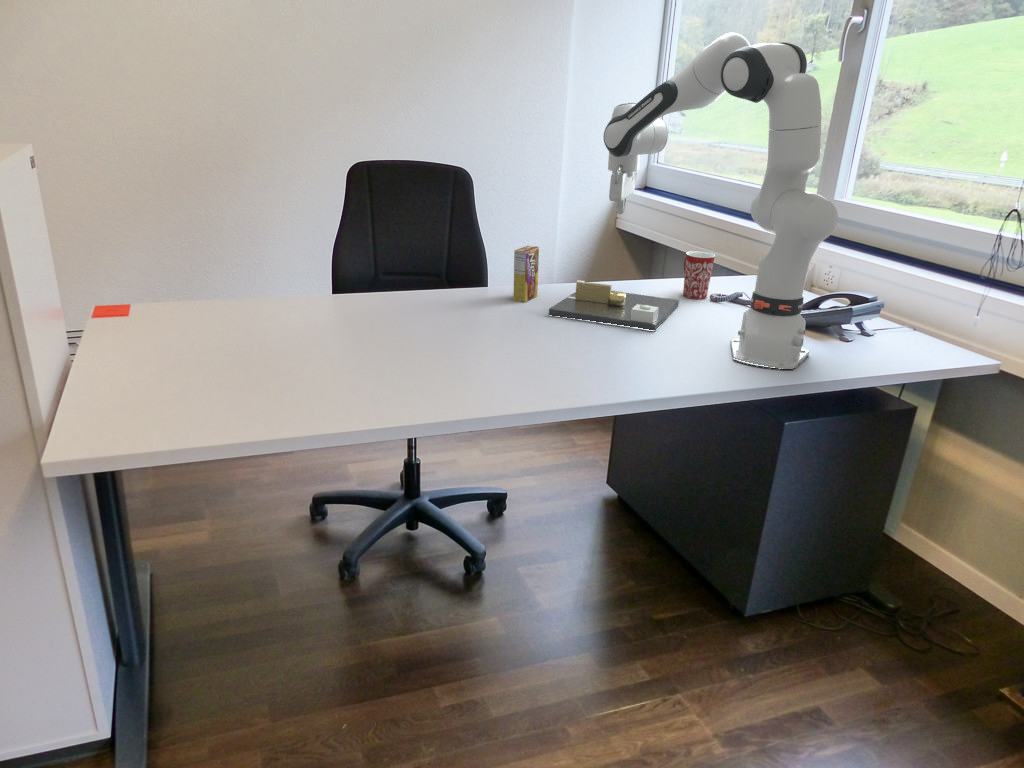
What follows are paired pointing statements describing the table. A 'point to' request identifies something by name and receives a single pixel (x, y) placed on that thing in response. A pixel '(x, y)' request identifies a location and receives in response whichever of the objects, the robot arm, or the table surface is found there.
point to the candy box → (526, 273)
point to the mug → (697, 274)
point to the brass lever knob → (599, 293)
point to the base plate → (619, 310)
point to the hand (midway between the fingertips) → (620, 213)
